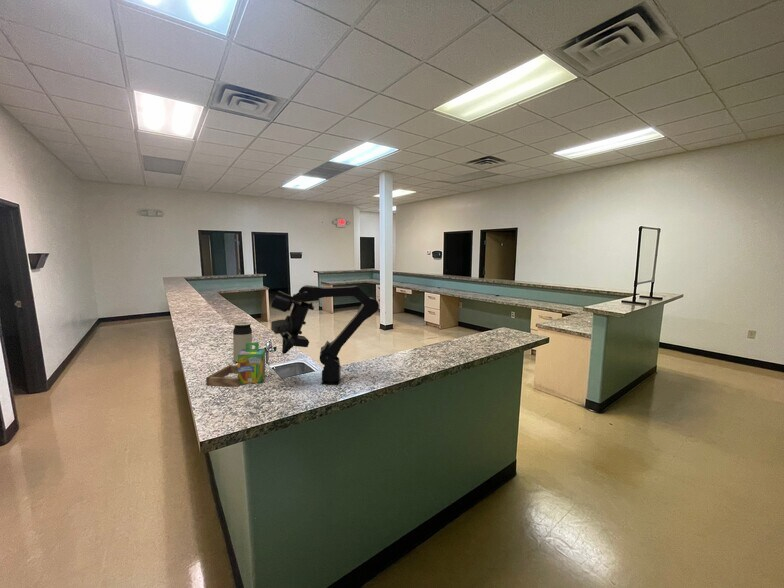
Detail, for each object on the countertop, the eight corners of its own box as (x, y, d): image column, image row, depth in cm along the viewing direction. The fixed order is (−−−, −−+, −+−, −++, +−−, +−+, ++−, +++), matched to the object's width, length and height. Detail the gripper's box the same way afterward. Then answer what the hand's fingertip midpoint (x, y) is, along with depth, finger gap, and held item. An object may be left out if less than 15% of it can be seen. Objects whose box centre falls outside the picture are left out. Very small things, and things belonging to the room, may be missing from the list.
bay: (257, 373, 133) (257, 366, 133) (238, 387, 118) (238, 379, 117) (229, 371, 133) (229, 365, 133) (206, 385, 118) (206, 377, 118)
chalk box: (237, 385, 119) (236, 346, 118) (241, 376, 128) (241, 341, 127) (263, 383, 122) (263, 345, 121) (265, 375, 131) (265, 340, 130)
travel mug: (244, 363, 145) (244, 325, 144) (229, 362, 147) (229, 323, 145) (255, 358, 153) (255, 322, 151) (241, 357, 154) (240, 321, 153)
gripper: (268, 304, 122) (254, 341, 123) (289, 323, 109) (273, 364, 110) (294, 309, 130) (281, 343, 131) (316, 327, 117) (301, 365, 118)
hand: (283, 353), depth 122 cm, fingers closed
